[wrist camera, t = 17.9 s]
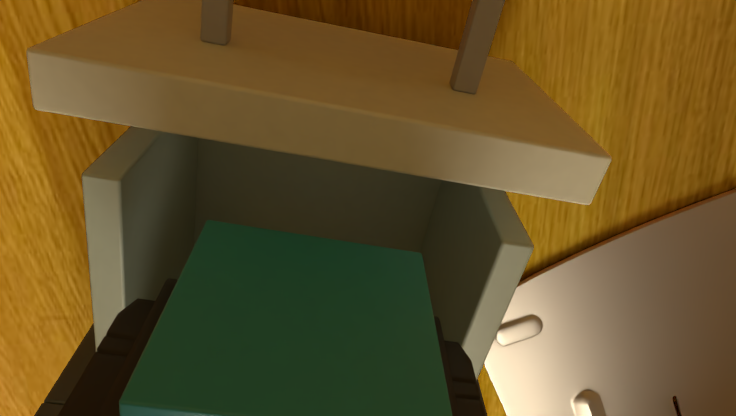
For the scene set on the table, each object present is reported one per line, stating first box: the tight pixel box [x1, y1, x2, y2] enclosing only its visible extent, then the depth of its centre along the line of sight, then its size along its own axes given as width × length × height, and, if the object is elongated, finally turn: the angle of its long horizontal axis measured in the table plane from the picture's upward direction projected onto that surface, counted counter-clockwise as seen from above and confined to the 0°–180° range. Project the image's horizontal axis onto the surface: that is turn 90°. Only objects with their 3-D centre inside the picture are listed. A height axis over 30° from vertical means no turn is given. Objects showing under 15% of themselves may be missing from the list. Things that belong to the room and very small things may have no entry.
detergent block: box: [119, 220, 452, 416], centre depth 10 cm, size 5×5×5 cm
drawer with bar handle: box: [27, 0, 612, 381], centre depth 15 cm, size 18×11×8 cm, turn 169°
